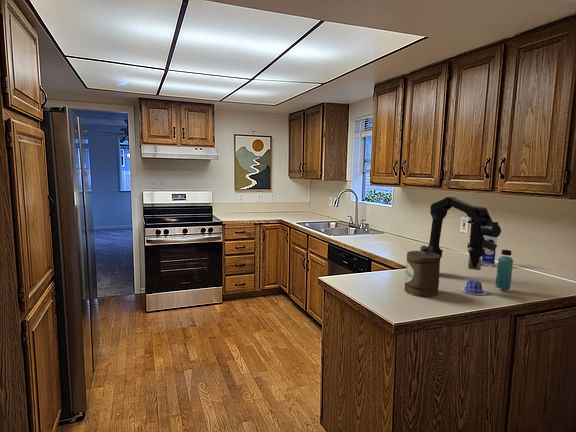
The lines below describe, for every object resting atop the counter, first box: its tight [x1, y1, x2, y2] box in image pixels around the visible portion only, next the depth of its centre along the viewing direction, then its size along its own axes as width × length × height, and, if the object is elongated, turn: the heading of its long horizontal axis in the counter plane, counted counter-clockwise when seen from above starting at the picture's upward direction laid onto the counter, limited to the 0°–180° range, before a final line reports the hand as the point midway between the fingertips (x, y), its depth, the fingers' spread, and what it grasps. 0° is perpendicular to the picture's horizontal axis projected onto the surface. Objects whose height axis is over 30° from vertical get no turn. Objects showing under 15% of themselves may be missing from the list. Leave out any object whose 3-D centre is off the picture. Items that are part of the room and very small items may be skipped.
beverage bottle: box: [494, 249, 514, 291], centre depth 177 cm, size 6×7×20 cm
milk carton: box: [480, 235, 498, 268], centre depth 225 cm, size 7×7×20 cm
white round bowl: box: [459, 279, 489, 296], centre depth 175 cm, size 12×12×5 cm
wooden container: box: [404, 245, 441, 298], centre depth 171 cm, size 15×15×22 cm
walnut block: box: [467, 256, 482, 271], centre depth 175 cm, size 5×5×5 cm
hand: (474, 266), depth 175 cm, fingers closed on walnut block, 5 cm apart
